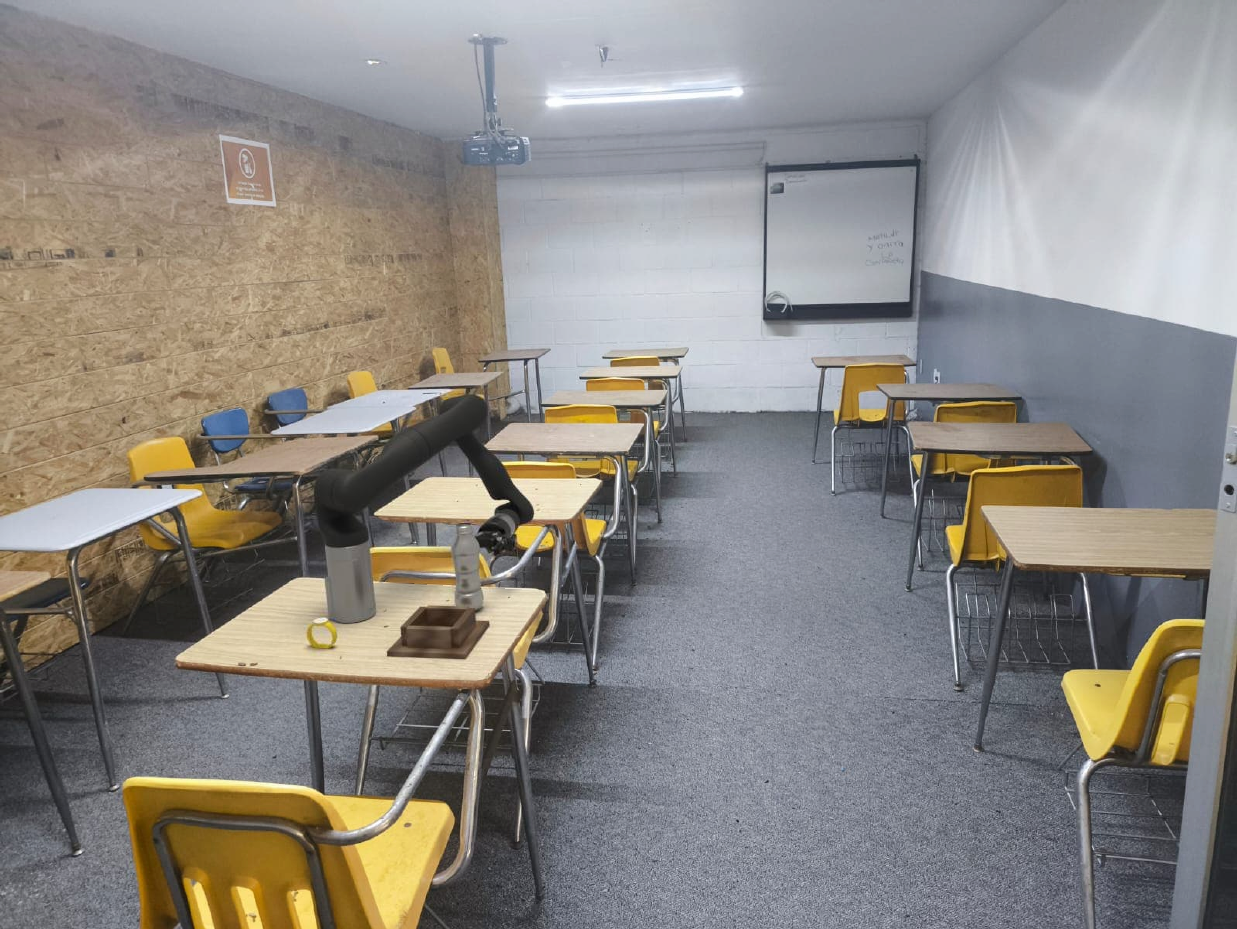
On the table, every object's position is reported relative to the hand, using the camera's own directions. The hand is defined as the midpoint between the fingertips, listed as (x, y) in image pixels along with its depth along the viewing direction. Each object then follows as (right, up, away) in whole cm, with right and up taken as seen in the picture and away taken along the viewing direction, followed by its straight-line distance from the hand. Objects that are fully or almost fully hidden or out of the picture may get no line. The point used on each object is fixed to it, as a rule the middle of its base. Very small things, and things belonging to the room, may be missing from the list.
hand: (477, 551), depth 183 cm
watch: (-27, -17, -22) cm, 39 cm away
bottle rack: (-4, -16, -21) cm, 26 cm away
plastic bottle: (-1, -13, -5) cm, 14 cm away
